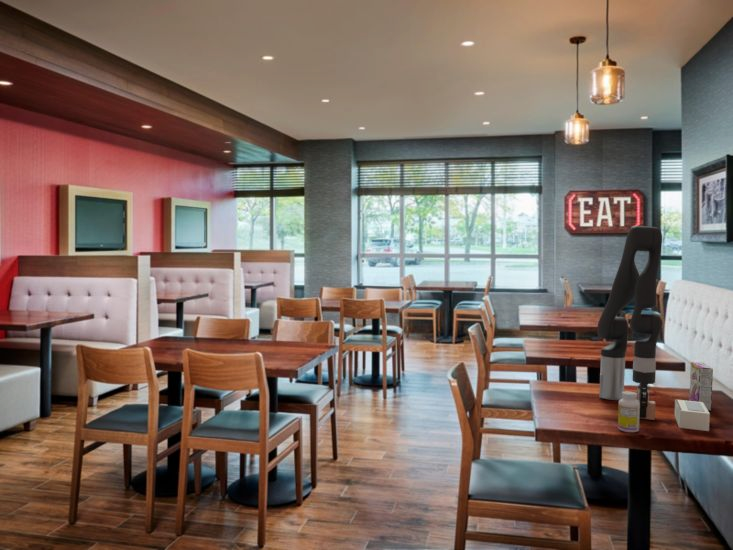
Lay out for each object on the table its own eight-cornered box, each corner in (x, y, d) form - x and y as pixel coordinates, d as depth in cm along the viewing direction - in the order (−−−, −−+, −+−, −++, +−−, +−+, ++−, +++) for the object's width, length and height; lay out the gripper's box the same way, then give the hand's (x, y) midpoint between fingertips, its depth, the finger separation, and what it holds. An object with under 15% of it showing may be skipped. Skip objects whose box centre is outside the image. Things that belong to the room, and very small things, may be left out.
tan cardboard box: (630, 417, 221) (631, 400, 220) (630, 414, 224) (630, 398, 224) (654, 419, 218) (655, 403, 217) (654, 416, 221) (654, 400, 221)
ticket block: (679, 427, 209) (680, 410, 209) (674, 415, 224) (675, 398, 224) (708, 431, 206) (709, 413, 206) (702, 418, 221) (702, 401, 221)
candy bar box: (688, 402, 243) (690, 361, 242) (701, 403, 242) (703, 362, 241) (697, 409, 232) (699, 367, 231) (711, 410, 231) (713, 368, 230)
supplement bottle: (624, 425, 211) (625, 389, 210) (642, 430, 206) (644, 393, 205) (613, 429, 207) (615, 392, 206) (632, 434, 201) (634, 396, 201)
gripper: (632, 364, 228) (630, 409, 229) (633, 372, 215) (631, 419, 216) (654, 366, 225) (652, 412, 226) (657, 374, 212) (655, 422, 213)
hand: (642, 415), depth 221 cm, fingers closed on tan cardboard box, 4 cm apart
